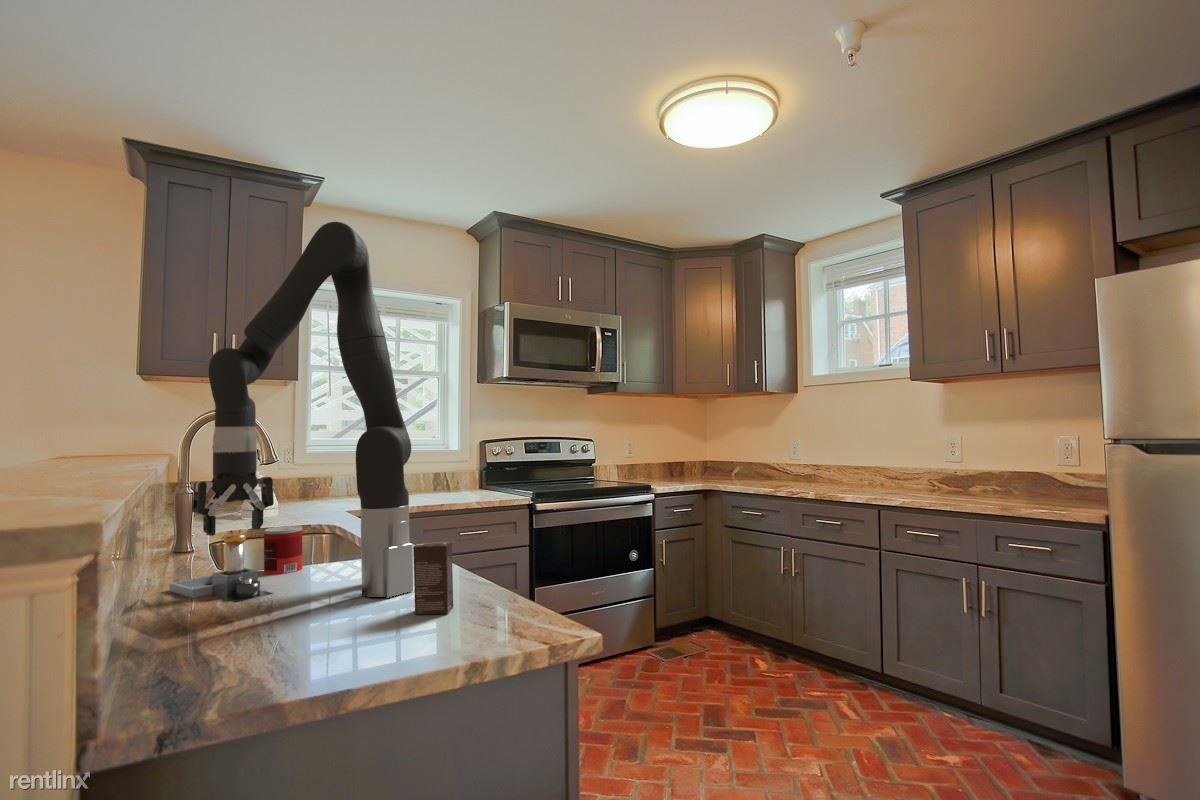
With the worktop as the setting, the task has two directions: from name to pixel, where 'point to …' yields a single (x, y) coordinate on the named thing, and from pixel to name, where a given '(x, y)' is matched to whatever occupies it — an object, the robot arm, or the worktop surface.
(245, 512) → the honey pot
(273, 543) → the canned food
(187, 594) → the tray
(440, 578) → the box
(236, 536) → the lock pin
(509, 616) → the worktop surface
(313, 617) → the worktop surface
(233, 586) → the pulley bracket
